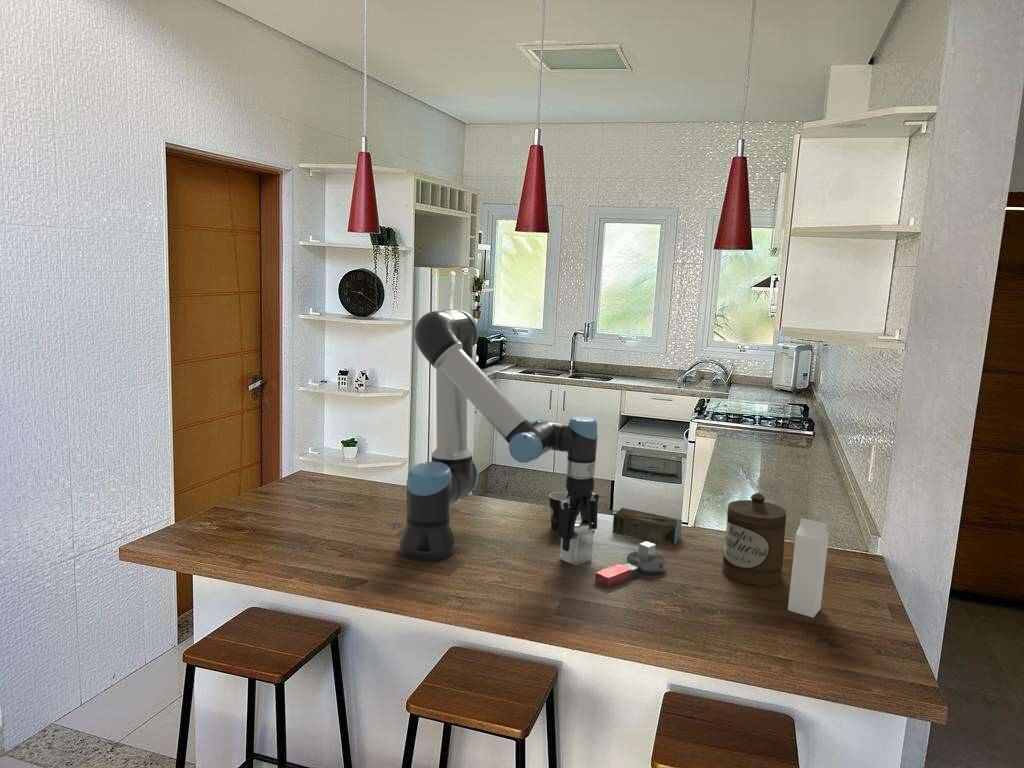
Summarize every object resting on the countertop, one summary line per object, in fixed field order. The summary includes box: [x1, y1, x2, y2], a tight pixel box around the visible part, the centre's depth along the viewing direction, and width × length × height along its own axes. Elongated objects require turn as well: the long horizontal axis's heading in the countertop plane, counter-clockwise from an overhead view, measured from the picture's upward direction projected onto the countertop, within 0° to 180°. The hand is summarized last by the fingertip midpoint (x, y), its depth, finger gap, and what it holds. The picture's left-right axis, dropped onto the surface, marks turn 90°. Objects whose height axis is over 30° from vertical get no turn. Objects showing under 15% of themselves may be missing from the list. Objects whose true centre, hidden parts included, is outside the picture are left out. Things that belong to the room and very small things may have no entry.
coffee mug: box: [548, 491, 575, 532], centre depth 229 cm, size 12×9×10 cm
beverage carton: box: [612, 507, 683, 546], centre depth 225 cm, size 8×19×7 cm, turn 64°
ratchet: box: [594, 540, 667, 589], centre depth 196 cm, size 23×10×6 cm, turn 133°
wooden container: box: [721, 492, 787, 587], centre depth 198 cm, size 15×15×22 cm
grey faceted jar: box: [559, 519, 594, 567], centre depth 204 cm, size 6×6×10 cm
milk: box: [787, 518, 830, 618], centre depth 178 cm, size 6×6×22 cm
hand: (575, 558), depth 205 cm, fingers closed on grey faceted jar, 6 cm apart
